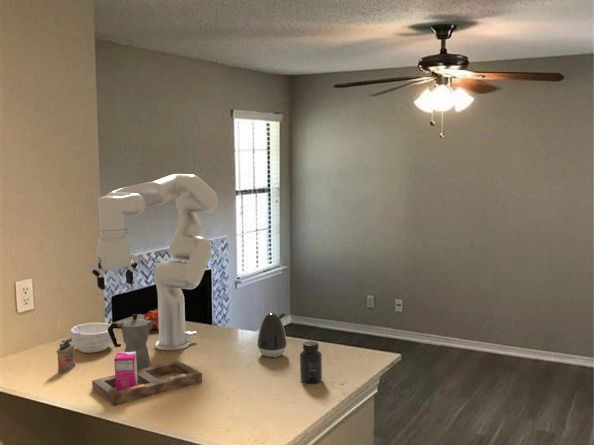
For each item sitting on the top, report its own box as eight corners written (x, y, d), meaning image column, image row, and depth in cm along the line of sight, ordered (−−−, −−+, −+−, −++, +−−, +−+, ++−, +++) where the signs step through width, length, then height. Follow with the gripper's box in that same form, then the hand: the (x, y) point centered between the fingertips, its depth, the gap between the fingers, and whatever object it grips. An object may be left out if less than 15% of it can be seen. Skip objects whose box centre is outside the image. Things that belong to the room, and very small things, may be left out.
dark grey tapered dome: (292, 356, 228) (292, 313, 226) (267, 362, 223) (267, 318, 221) (277, 348, 237) (276, 307, 235) (252, 354, 231) (251, 312, 229)
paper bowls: (122, 349, 236) (121, 328, 235) (81, 358, 227) (80, 336, 226) (104, 339, 248) (103, 319, 247) (64, 348, 238) (63, 327, 237)
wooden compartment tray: (177, 368, 216) (177, 358, 216) (201, 382, 204) (201, 371, 204) (92, 390, 198) (91, 379, 198) (113, 406, 186) (113, 394, 186)
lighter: (64, 373, 212) (63, 343, 211) (55, 373, 213) (53, 343, 212) (77, 365, 220) (76, 336, 219) (68, 364, 221) (67, 335, 219)
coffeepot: (154, 359, 225) (153, 308, 223) (158, 368, 217) (157, 315, 214) (108, 365, 220) (106, 313, 218) (110, 374, 211) (108, 320, 209)
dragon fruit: (169, 328, 267) (146, 340, 258) (156, 314, 270) (133, 325, 261) (175, 315, 263) (152, 326, 254) (162, 301, 266) (138, 311, 257)
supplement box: (118, 388, 200) (117, 351, 198) (138, 387, 200) (137, 351, 199) (115, 395, 194) (113, 358, 192) (135, 394, 194) (134, 357, 193)
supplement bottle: (324, 377, 208) (324, 341, 206) (318, 385, 201) (318, 347, 200) (304, 375, 210) (304, 339, 208) (297, 382, 204) (297, 345, 202)
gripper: (131, 229, 218) (134, 279, 221) (81, 236, 207) (85, 289, 209) (142, 232, 212) (145, 283, 215) (91, 239, 201) (95, 293, 204)
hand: (115, 286), depth 212 cm, fingers open, 9 cm apart
